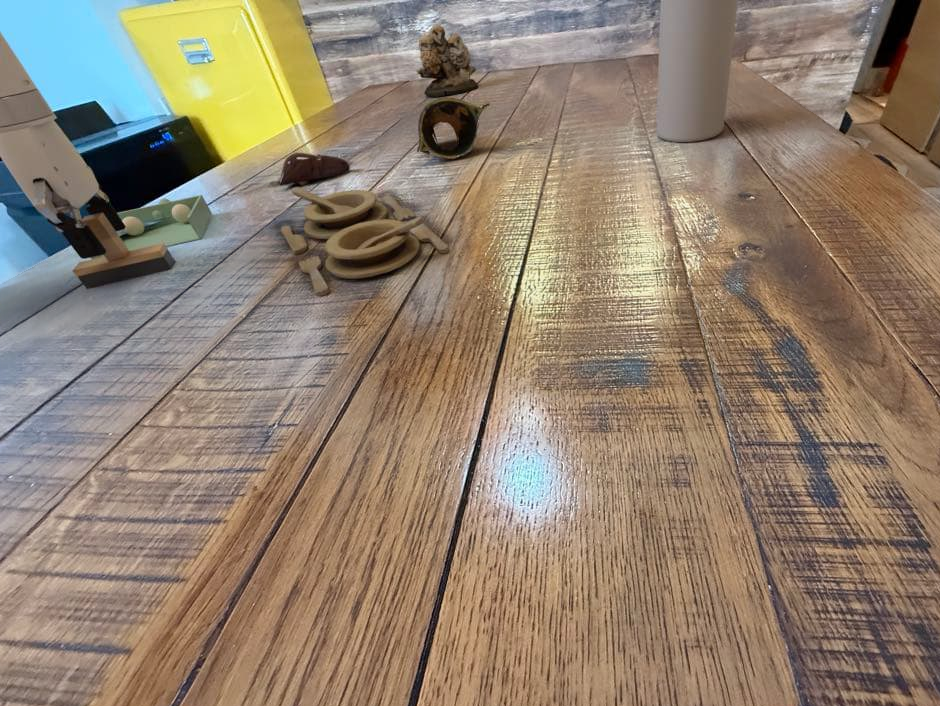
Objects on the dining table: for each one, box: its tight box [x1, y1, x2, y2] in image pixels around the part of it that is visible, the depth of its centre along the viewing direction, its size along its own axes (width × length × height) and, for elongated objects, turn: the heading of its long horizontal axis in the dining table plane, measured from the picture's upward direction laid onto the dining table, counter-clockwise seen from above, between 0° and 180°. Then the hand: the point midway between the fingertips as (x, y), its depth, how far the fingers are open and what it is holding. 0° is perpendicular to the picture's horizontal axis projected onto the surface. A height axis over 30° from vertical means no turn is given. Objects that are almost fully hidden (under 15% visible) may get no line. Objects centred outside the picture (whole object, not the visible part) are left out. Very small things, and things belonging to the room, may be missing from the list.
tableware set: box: [280, 186, 450, 297], centre depth 76 cm, size 30×20×6 cm, turn 30°
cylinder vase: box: [655, 0, 739, 143], centre depth 91 cm, size 12×12×25 cm
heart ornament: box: [279, 151, 351, 187], centre depth 104 cm, size 6×12×11 cm
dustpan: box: [90, 194, 213, 260], centre depth 91 cm, size 19×17×4 cm
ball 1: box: [122, 217, 145, 236], centre depth 90 cm, size 3×3×3 cm
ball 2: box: [172, 204, 191, 223], centre depth 92 cm, size 3×3×3 cm
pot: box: [416, 96, 491, 160], centre depth 106 cm, size 17×11×18 cm
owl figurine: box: [416, 24, 479, 98], centre depth 153 cm, size 18×12×17 cm, turn 115°
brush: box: [71, 213, 176, 290], centre depth 75 cm, size 12×3×9 cm, turn 109°
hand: (105, 242), depth 75 cm, fingers open, 9 cm apart
